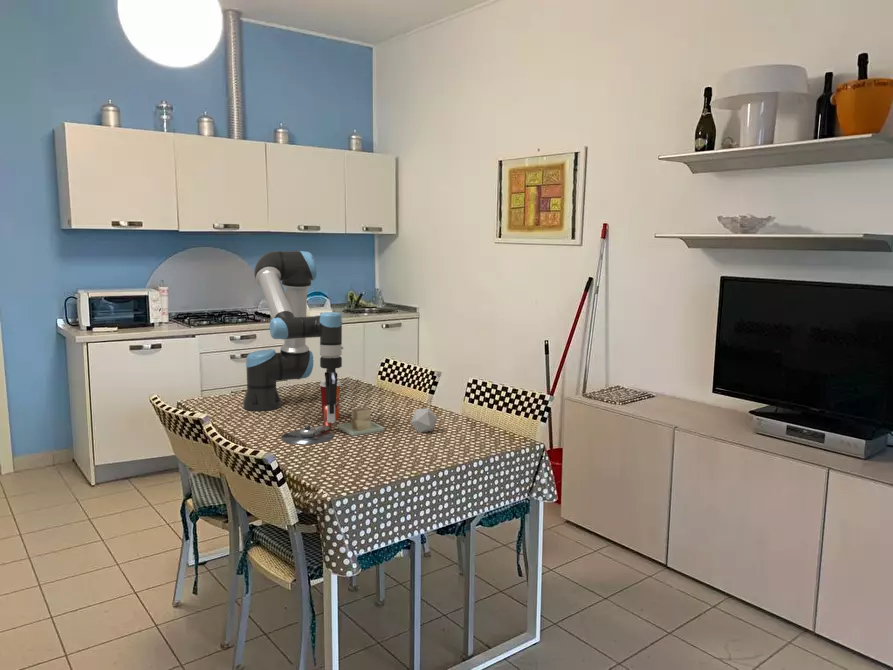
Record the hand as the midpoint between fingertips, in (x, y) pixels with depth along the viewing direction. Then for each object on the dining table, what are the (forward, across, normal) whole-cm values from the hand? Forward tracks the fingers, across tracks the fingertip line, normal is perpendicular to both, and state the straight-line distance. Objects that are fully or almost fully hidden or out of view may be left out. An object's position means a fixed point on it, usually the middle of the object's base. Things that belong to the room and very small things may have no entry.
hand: (331, 422), depth 239 cm
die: (+4, -5, -33) cm, 34 cm away
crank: (+4, +1, +5) cm, 6 cm away
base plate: (+5, -2, +8) cm, 10 cm away
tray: (+4, +2, -11) cm, 12 cm away
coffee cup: (+4, +21, -3) cm, 21 cm away
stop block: (+4, +2, -11) cm, 12 cm away
